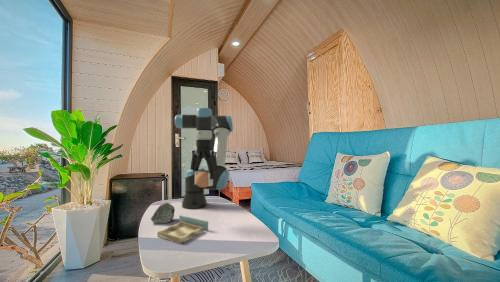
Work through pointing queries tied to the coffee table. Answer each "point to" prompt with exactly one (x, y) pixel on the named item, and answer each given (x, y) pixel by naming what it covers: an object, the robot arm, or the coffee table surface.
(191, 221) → the wall
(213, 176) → the robot arm
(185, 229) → the tray
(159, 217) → the stone
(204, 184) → the ball
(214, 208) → the coffee table surface
